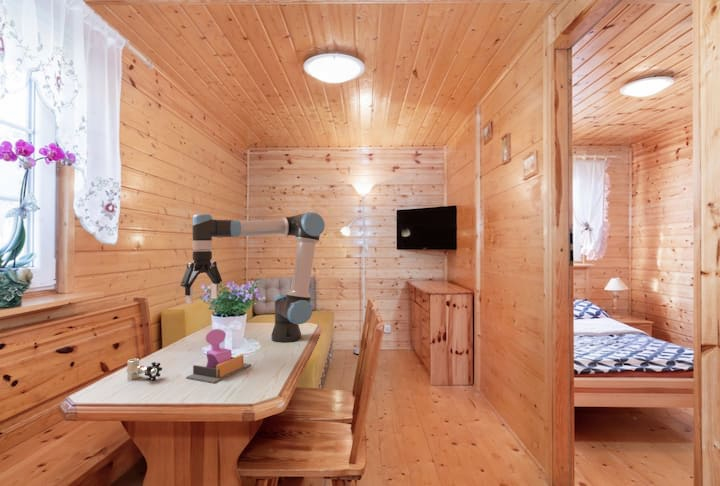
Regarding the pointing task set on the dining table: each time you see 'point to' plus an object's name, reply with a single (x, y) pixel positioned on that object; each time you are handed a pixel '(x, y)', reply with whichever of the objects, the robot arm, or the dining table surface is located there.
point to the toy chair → (217, 348)
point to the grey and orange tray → (218, 370)
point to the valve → (142, 370)
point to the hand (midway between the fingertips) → (202, 301)
